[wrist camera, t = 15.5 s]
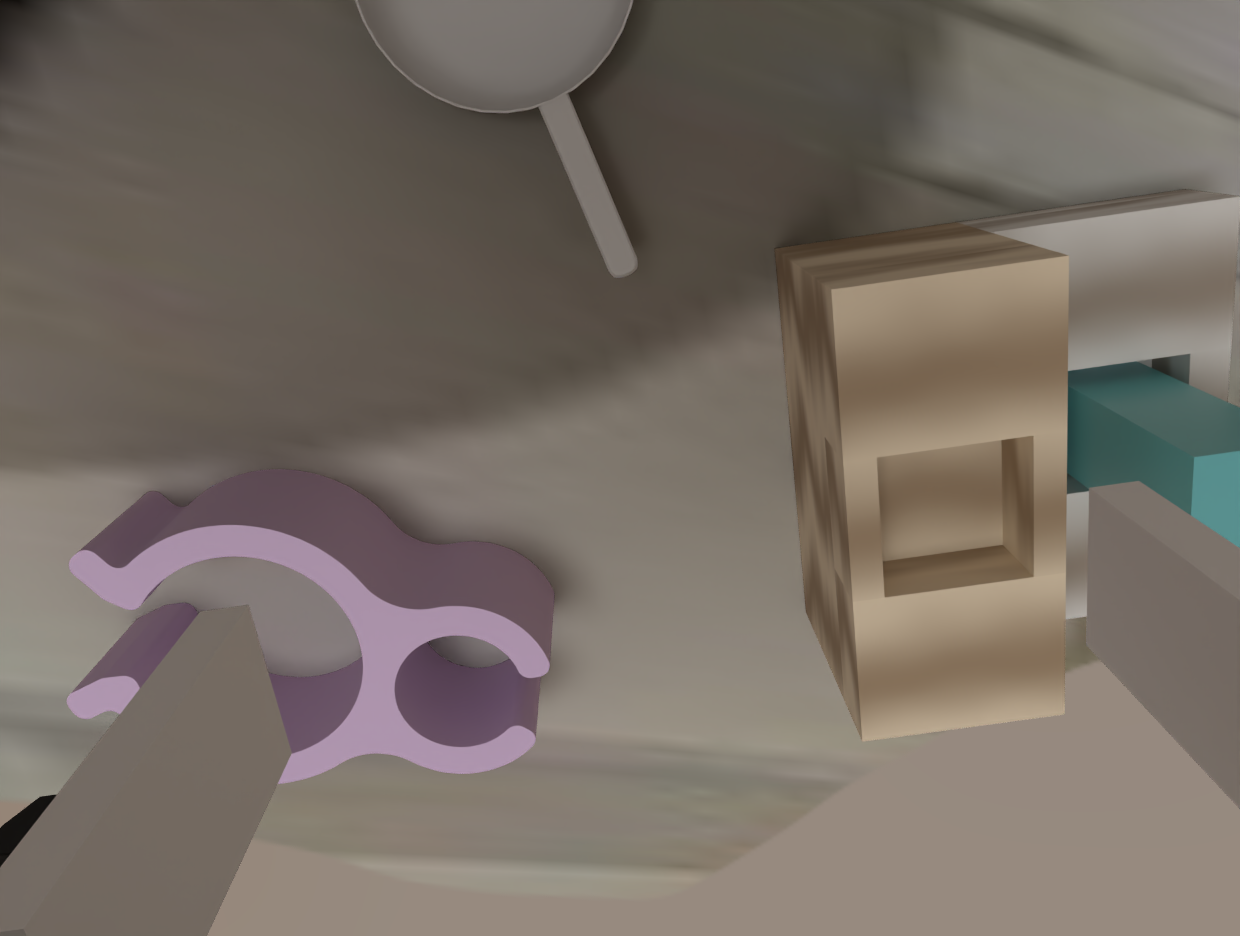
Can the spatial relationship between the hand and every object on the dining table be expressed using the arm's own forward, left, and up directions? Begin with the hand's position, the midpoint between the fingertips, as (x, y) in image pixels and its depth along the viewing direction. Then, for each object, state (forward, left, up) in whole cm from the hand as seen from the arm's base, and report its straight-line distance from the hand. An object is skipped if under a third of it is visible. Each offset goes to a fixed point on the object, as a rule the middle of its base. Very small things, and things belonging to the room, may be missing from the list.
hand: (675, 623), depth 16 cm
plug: (+8, +20, -30) cm, 37 cm away
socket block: (+8, +16, -31) cm, 36 cm away
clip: (+13, -15, -31) cm, 37 cm away
